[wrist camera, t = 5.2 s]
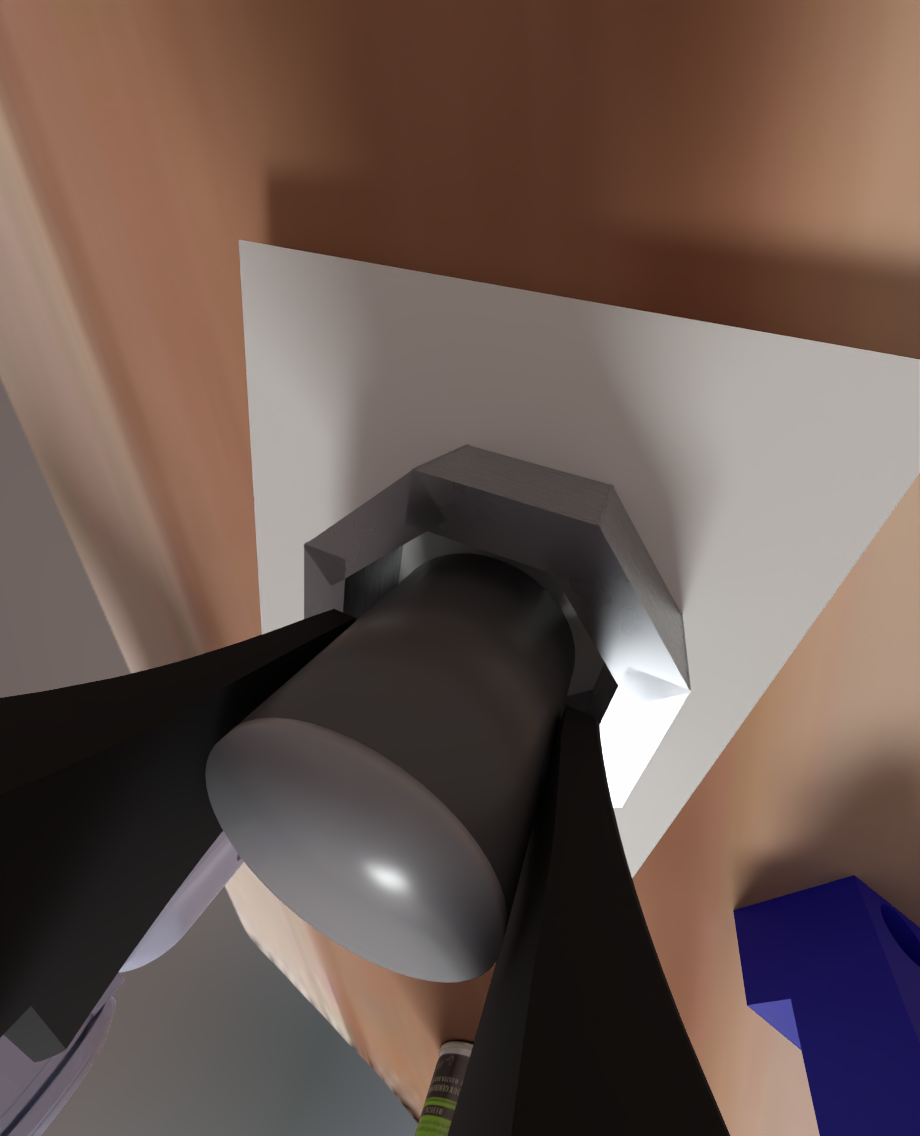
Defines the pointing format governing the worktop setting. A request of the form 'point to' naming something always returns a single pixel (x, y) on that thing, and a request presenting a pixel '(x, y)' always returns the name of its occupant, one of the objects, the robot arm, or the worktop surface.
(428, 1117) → the coffee can
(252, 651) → the robot arm
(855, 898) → the blue u-shaped cradle block
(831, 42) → the worktop surface
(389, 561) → the socket board
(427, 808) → the dark gray cylinder
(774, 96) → the worktop surface
